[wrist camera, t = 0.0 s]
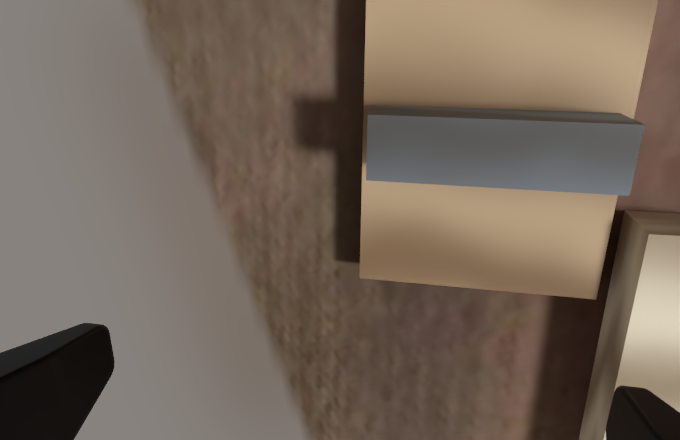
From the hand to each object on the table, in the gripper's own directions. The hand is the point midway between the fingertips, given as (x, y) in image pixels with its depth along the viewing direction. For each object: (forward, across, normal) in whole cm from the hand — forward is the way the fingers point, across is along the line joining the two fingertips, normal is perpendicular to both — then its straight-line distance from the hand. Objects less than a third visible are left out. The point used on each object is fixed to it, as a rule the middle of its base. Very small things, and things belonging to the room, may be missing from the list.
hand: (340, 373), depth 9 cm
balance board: (+15, -4, -2) cm, 15 cm away
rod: (+15, -11, +8) cm, 20 cm away
